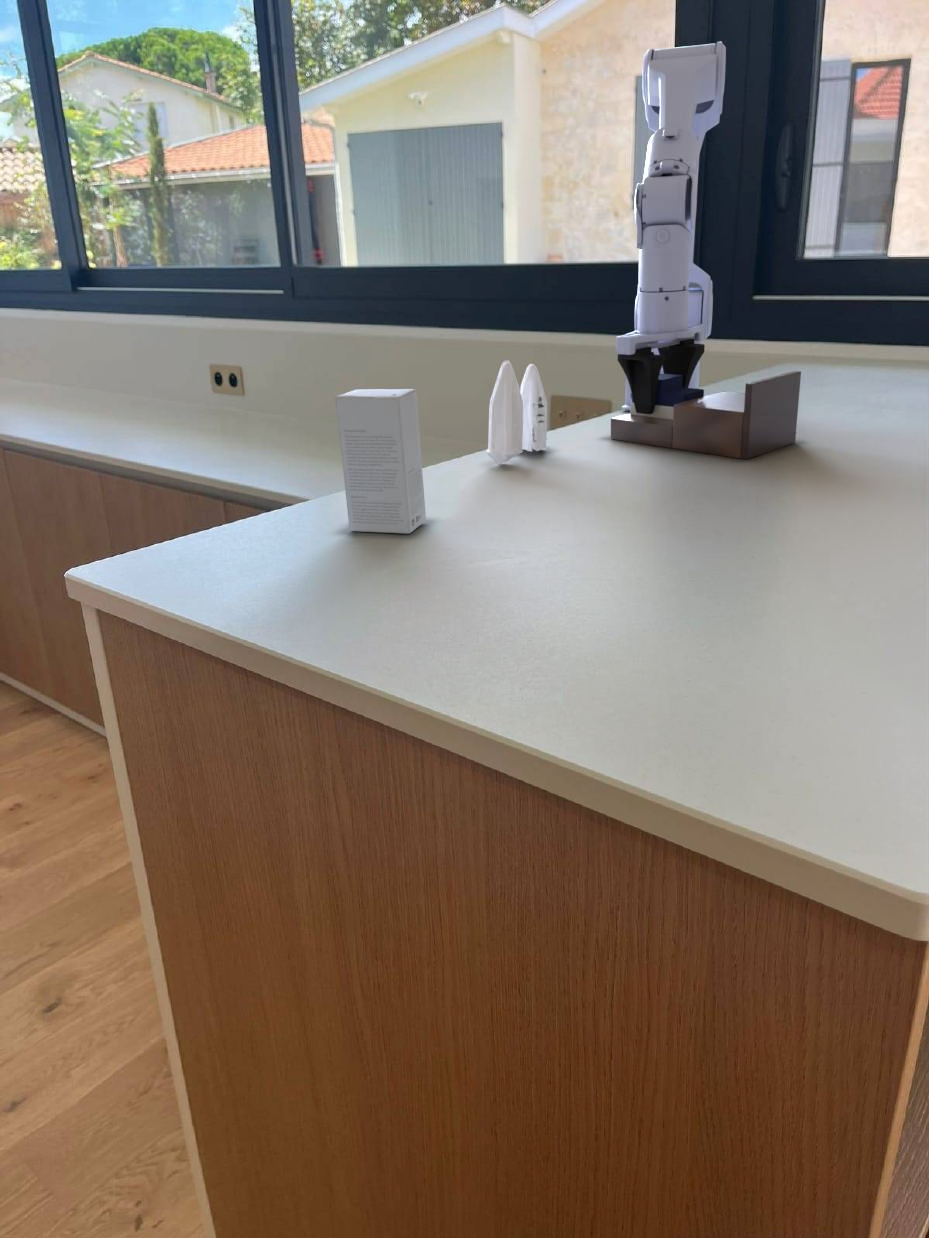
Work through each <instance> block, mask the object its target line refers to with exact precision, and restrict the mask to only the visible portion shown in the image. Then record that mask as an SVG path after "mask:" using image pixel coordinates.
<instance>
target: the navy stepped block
mask: <svg viewBox="0 0 929 1238" xmlns="http://www.w3.org/2000/svg"><path fill="white" fill-rule="evenodd" d="M682 379H683V375H673V374H662V373H660V374H659V378H658V383H657V390H656V401H655V408H654V411H653V414H642V413H636V410H635V405H634V401H633V397H632V402H630V410H629V414H631V415H638V416H646V417H654V418H662V419H670V420H673V408H674V404H677V403H681V402H685V401H689V400H693V399H697V398H700V397H704V396H705V389H703V388H698V389H694V388H684V387H682Z"/></svg>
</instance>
